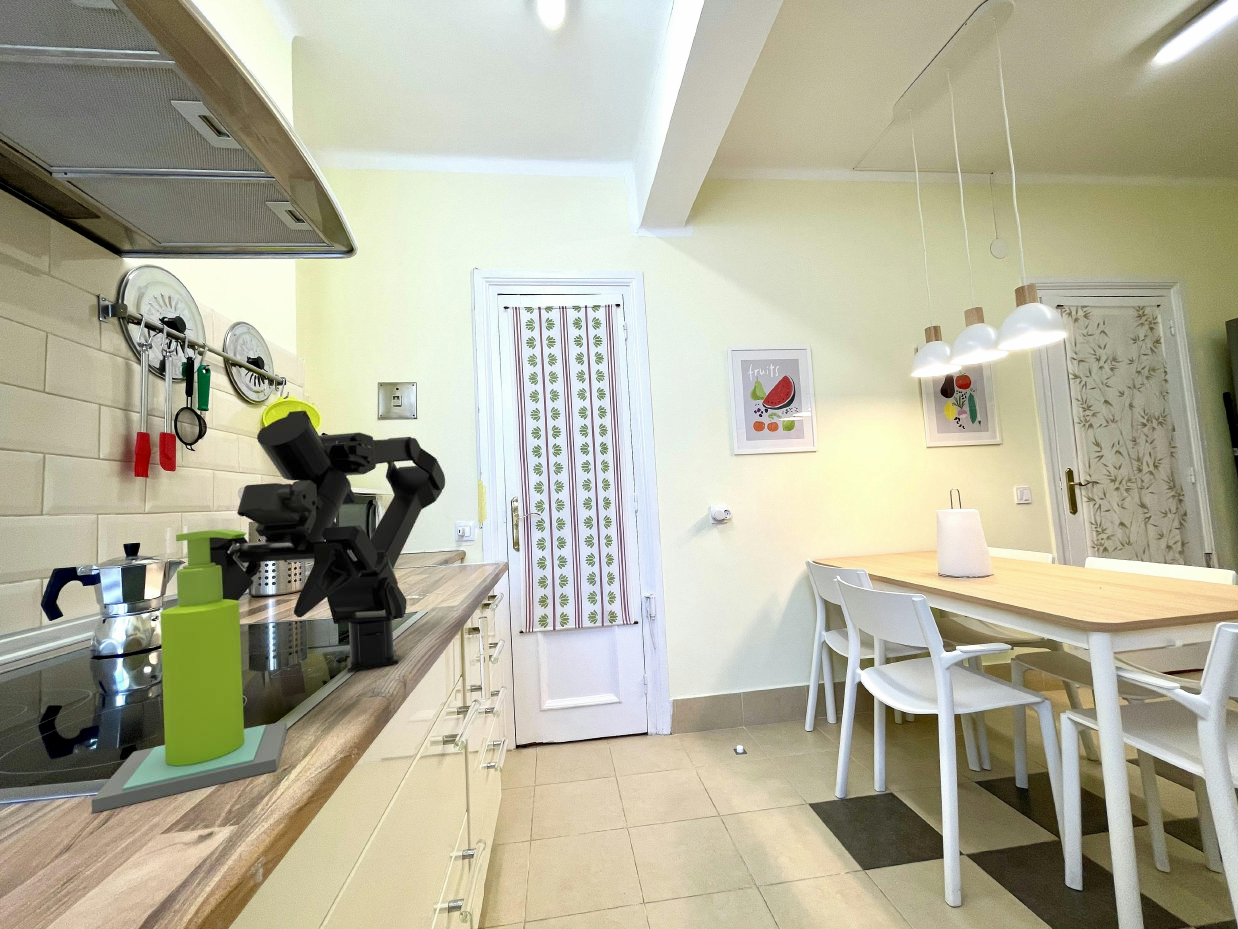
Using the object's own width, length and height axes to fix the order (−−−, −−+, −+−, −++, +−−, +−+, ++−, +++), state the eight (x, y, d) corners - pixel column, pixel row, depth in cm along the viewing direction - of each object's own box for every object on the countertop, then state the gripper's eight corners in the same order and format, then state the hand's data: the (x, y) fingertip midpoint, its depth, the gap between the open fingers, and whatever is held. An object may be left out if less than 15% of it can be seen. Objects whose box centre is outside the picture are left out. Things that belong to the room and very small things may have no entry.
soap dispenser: (226, 763, 50) (217, 530, 51) (147, 768, 50) (140, 535, 51) (269, 734, 56) (260, 526, 57) (198, 739, 56) (191, 531, 57)
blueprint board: (133, 762, 55) (133, 749, 55) (286, 730, 60) (286, 719, 60) (91, 813, 46) (91, 797, 46) (276, 770, 51) (275, 756, 51)
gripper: (204, 465, 67) (118, 576, 56) (359, 453, 66) (304, 565, 55) (254, 528, 75) (188, 637, 63) (395, 519, 74) (353, 629, 62)
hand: (254, 617), depth 61 cm, fingers open, 9 cm apart
